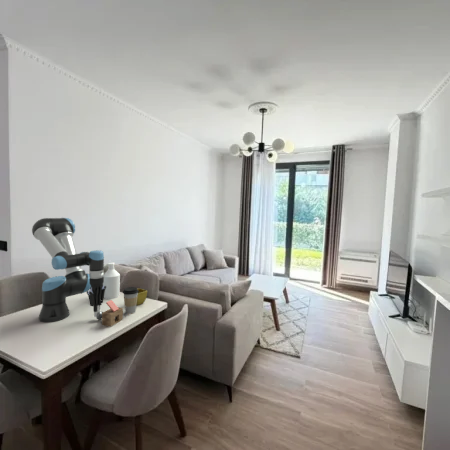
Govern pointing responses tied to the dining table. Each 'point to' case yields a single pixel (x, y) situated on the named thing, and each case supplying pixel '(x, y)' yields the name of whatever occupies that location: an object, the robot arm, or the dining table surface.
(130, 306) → the coffee cup
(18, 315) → the dining table surface
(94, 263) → the robot arm
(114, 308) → the block
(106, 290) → the bottle
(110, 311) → the block
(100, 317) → the pin
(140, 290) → the flower pot
